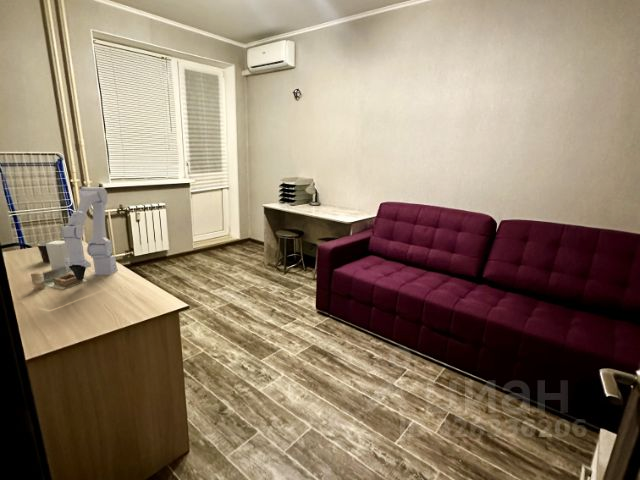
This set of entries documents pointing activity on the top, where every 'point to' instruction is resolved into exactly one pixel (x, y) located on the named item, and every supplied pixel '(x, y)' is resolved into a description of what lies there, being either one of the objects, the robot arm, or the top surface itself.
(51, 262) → the skincare box
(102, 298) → the top surface
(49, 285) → the board
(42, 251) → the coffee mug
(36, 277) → the dowel
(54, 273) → the wall
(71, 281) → the brown wooden square frame
